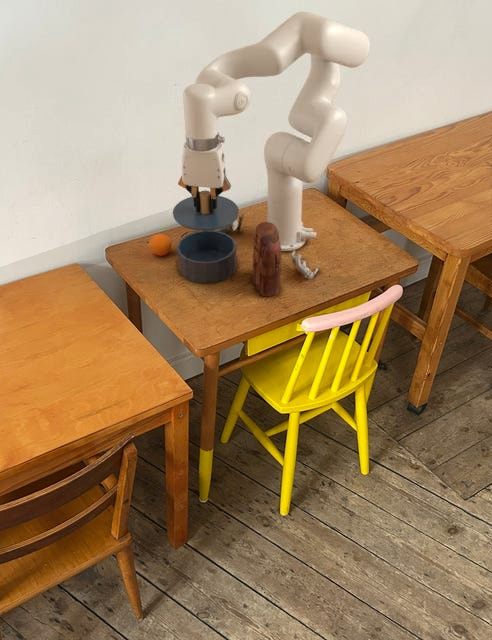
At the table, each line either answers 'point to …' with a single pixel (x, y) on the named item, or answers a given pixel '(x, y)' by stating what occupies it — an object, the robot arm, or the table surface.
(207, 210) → the pan lid
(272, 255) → the wooden figurine
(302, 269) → the soldier figure
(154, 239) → the orange ball
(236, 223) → the eagle figurine
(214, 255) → the dark blue round container
